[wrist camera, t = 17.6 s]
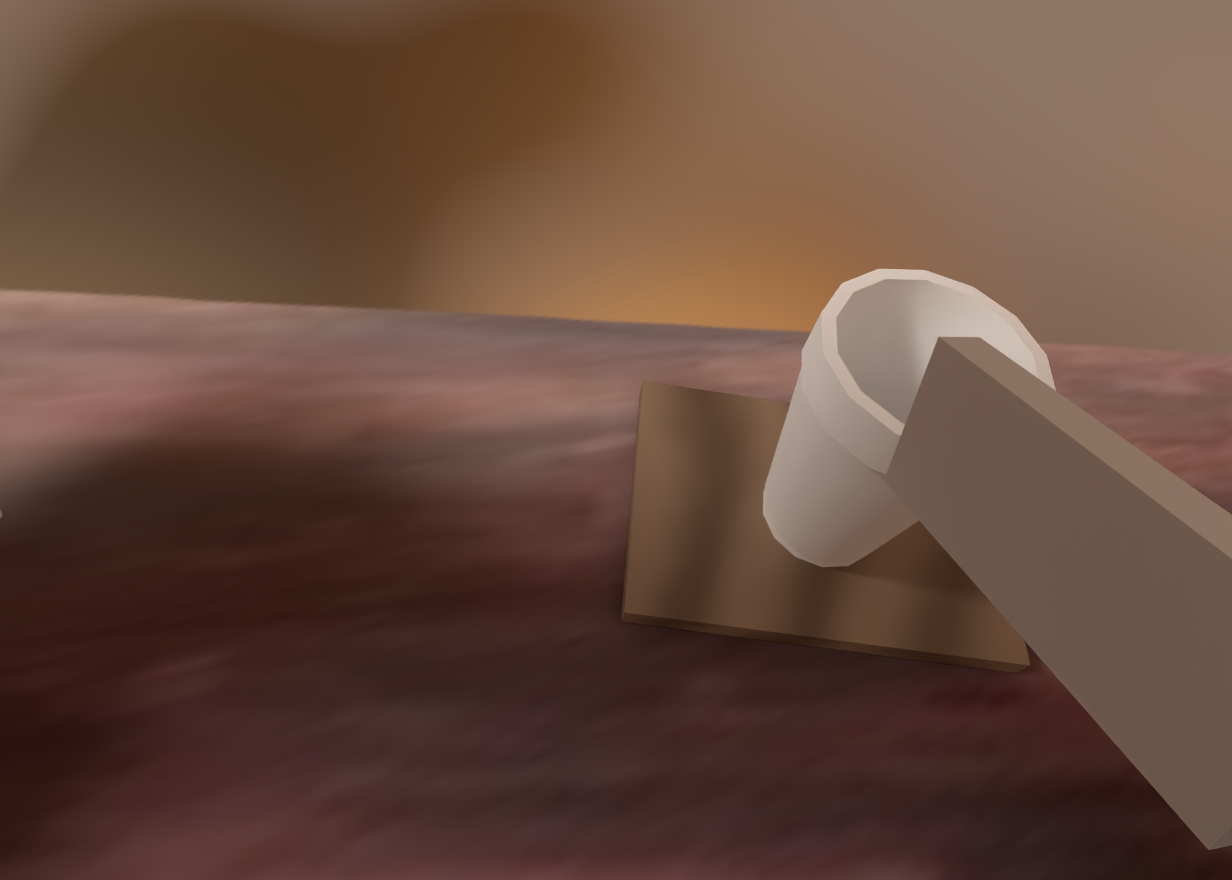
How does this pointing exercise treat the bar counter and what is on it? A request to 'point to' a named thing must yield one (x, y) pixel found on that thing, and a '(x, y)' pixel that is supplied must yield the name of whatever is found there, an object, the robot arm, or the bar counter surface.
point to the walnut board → (780, 551)
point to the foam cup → (870, 406)
